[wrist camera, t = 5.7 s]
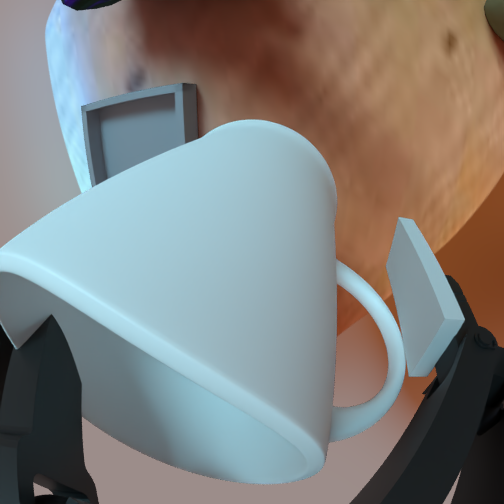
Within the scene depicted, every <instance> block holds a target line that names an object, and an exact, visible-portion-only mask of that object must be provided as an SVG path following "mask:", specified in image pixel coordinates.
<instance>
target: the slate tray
mask: <svg viewBox="0 0 504 504" xmlns="http://www.w3.org/2000/svg"><path fill="white" fill-rule="evenodd" d="M81 110H82V122H83V131H84V140H85V148H86V155H87V161H88V167H89V173H90V179H91V184H92V187H94V186H96V185H98V184H100V183H102V182H104V181H105V180H107V179H109V178H111V177H113V176H115V175H117V174H119V173H121V172H123V171H125V170H127V169H129V168H131V167H133V166H136V165H138V164H140V163H142V162H144V161H146V160H149V159H151V158H153V157H155V156H158V155H160V154H162V153H164V152H167V151H169V150H172V149H174V148H176V147H179V146H181V145H184V144H186V143H189V142H192V141H194V140H197V139H198V124H197V99H196V84H188V83H180V84H173V85H167V86H161V87H156V88H150V89H145V90H140V91H136V92H131V93H127V94H123V95H119V96H115V97H111V98H108V99H104V100H100V101H97V102H94V103H90V104H87V105H84V106H81Z"/></svg>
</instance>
